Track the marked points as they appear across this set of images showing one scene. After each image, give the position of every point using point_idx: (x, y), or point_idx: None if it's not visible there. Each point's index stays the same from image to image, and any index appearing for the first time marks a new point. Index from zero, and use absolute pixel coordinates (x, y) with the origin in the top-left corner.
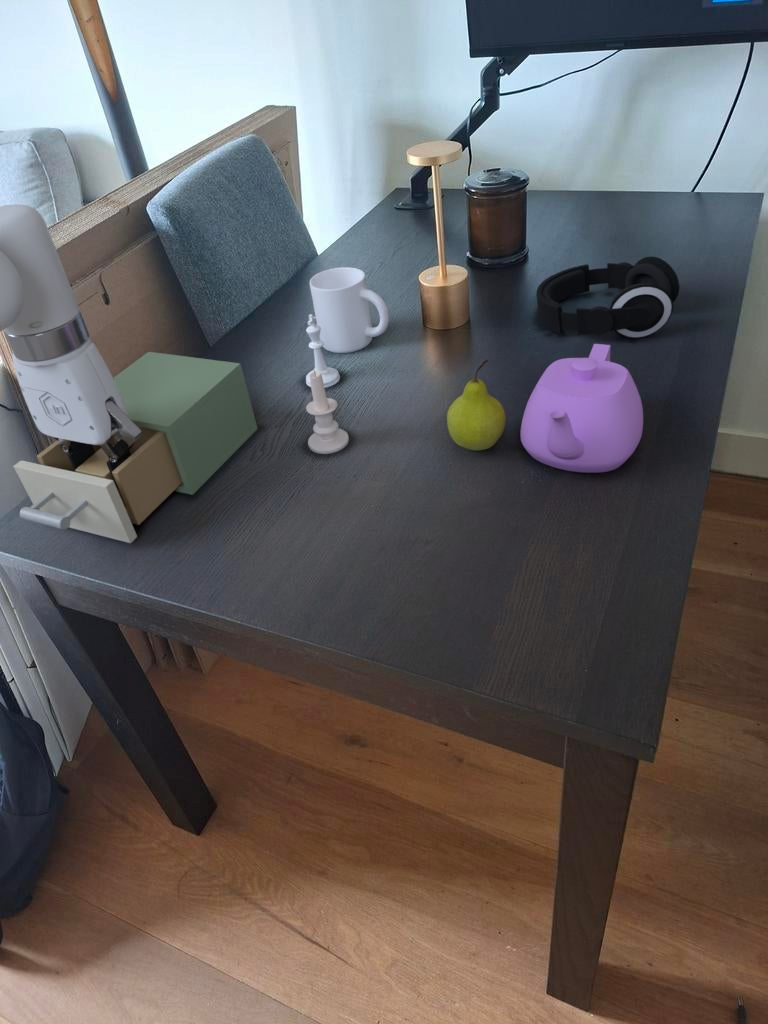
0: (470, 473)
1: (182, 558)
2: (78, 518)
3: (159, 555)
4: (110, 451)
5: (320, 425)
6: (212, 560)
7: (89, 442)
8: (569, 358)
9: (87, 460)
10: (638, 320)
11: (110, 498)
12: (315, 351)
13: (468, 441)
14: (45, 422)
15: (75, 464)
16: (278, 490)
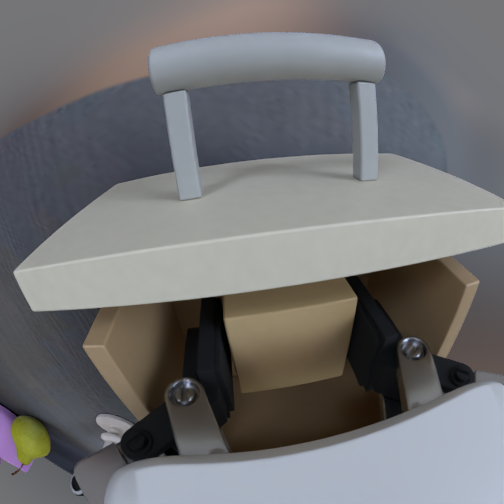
0: (11, 397)
1: (39, 214)
2: (266, 166)
3: (71, 197)
4: (176, 420)
5: (108, 443)
6: (11, 235)
7: (188, 471)
8: (16, 466)
9: (346, 338)
10: (75, 479)
11: (43, 242)
12: None
13: (17, 421)
14: (480, 460)
15: (368, 313)
16: (77, 368)
